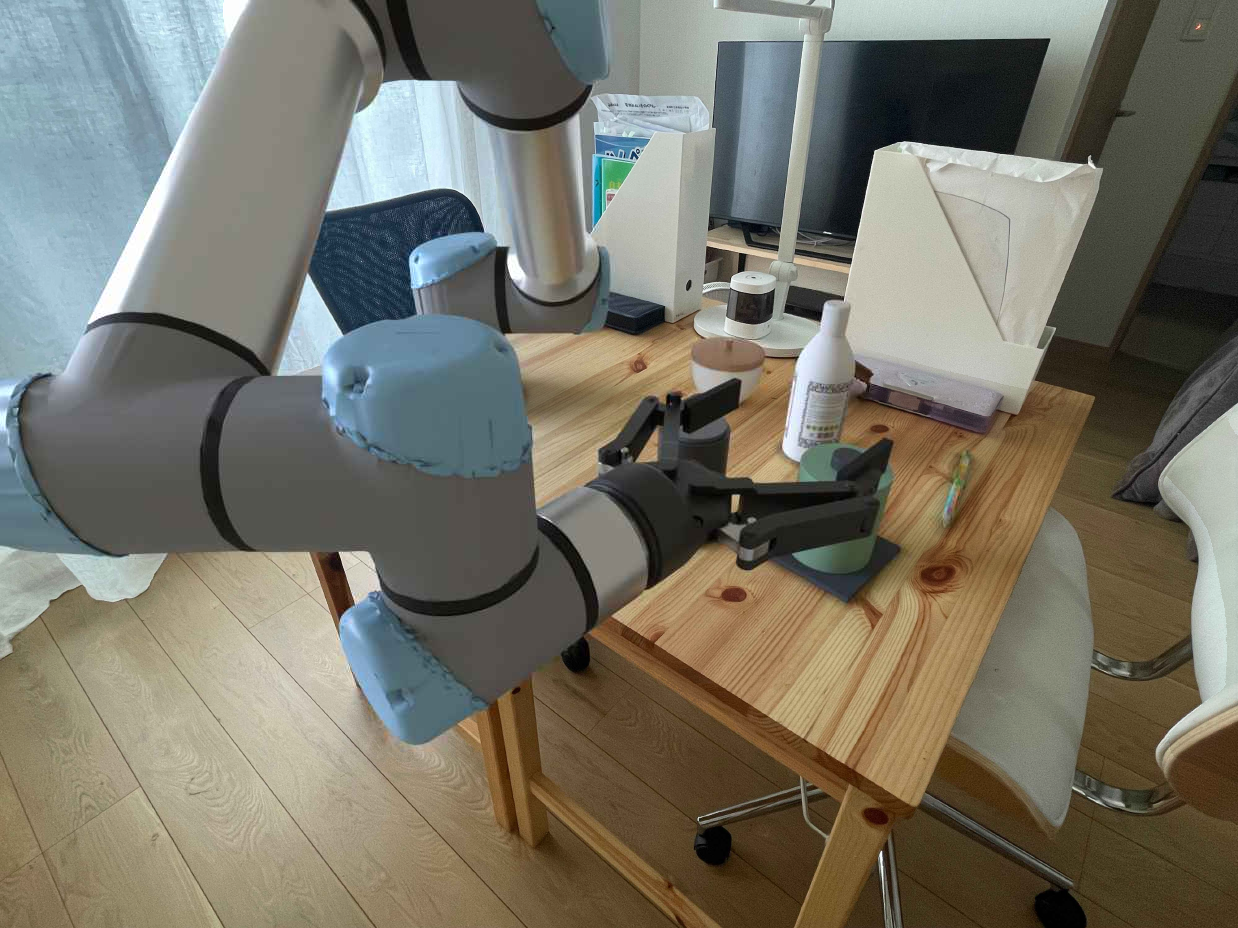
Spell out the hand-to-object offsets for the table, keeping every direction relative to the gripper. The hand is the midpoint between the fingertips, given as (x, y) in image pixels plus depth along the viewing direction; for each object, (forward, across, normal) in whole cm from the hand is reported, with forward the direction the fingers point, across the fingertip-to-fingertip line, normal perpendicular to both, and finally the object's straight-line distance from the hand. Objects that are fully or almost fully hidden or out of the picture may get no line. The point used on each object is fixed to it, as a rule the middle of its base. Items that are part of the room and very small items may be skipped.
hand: (805, 421), depth 50 cm
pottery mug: (+41, -18, -20) cm, 49 cm away
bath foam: (+25, -12, -20) cm, 34 cm away
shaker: (+2, -13, -19) cm, 23 cm away
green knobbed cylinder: (+10, 0, -19) cm, 21 cm away
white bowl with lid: (+29, -29, -20) cm, 46 cm away
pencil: (+30, +5, -19) cm, 36 cm away
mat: (+10, 0, -19) cm, 21 cm away
